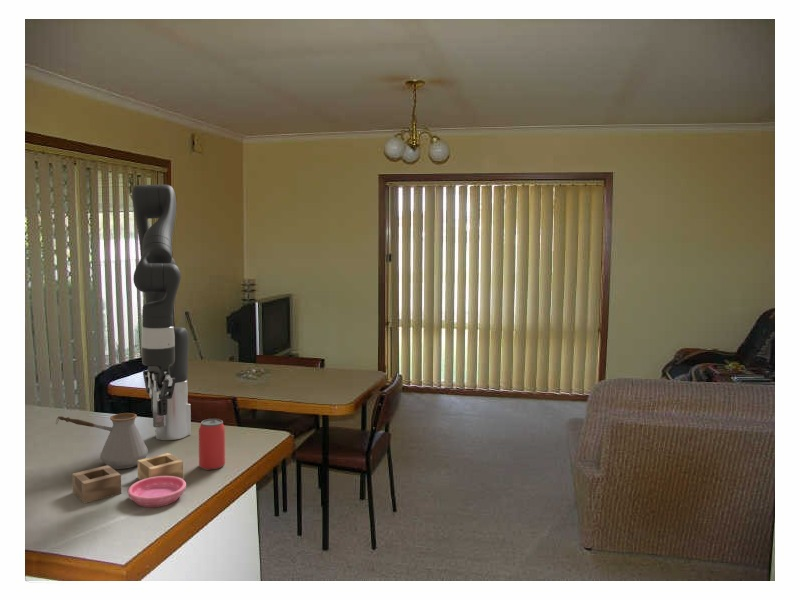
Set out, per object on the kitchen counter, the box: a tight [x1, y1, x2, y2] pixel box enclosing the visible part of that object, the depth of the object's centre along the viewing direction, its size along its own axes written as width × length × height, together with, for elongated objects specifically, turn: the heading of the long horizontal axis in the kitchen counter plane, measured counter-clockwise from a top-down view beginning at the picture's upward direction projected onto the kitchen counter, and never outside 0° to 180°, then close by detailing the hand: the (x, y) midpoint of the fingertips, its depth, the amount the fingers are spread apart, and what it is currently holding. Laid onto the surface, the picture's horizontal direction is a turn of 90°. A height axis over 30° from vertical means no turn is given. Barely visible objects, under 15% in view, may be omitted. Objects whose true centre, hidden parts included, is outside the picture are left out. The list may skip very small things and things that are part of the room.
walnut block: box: [71, 465, 122, 504], centre depth 141 cm, size 8×8×4 cm
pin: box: [152, 386, 165, 428], centre depth 149 cm, size 3×3×10 cm
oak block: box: [137, 452, 184, 481], centre depth 150 cm, size 8×8×4 cm
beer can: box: [198, 418, 226, 471], centre depth 159 cm, size 7×7×12 cm
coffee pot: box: [55, 412, 149, 470], centre depth 156 cm, size 21×12×15 cm, turn 123°
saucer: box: [127, 476, 187, 508], centre depth 139 cm, size 12×12×3 cm
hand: (159, 413), depth 149 cm, fingers closed on pin, 2 cm apart
